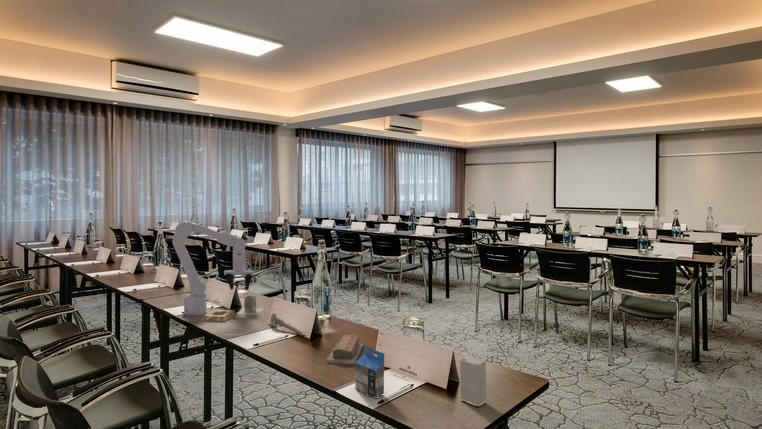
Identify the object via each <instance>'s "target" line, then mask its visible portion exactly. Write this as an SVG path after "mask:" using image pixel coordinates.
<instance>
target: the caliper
mask: <svg viewBox="0 0 762 429" xmlns="http://www.w3.org/2000/svg"><path fill="white" fill-rule="evenodd" d="M269 321H270V328H273V329H275V328H277V326H280V327H281V328H285V329H287V330H290V331H292V332H293V333H296V334H297V335H299V336H302V335H303V332H304V331H303V332H301V331H302V330H301V329H299V328H298V327H295V326H293V325H292V324H290V323H287V322H285V321H284V320H283V319H282V318H280V317H277V313H276V314H275V313H272V315H271V316H270V320H269ZM298 329H299V330H298ZM300 330H301V331H300Z"/></svg>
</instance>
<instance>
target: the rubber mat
mask: <svg viewBox="0 0 762 429" xmlns="http://www.w3.org/2000/svg"><path fill="white" fill-rule="evenodd" d="M264 310H265V308H261V307H260V308H257V307H256V311H254V312H253V313H250V312H245V307H243V309H241V310H240V311H238V312H235V315H250V316H256V315H259V314H260V313H261V312H263V311H264Z"/></svg>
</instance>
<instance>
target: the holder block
mask: <svg viewBox="0 0 762 429" xmlns="http://www.w3.org/2000/svg"><path fill="white" fill-rule="evenodd" d="M235 315H236V311H235V310H234V309H233V310H231V309H213V310H210V311H208V312H207V313H205V315H204V314H203V317H202V318H203V321H204V322H205V321H207V322H210V321H211V322H226V321H227V320H230V319H231V318H233V317H234V316H235Z"/></svg>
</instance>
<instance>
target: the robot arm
mask: <svg viewBox="0 0 762 429" xmlns="http://www.w3.org/2000/svg"><path fill="white" fill-rule="evenodd" d="M192 233H193V234H199V233H200V234H203V235H205V236H208V237H211V238H214V239H216V241H217V243H220V244H222V245H225V246H228V247H230V248H231V247H232V269H227V270H226V269H225V270H224V271H223V274H224V277H225V279H226V281H227V282H228V285H229V286H228V287H229V289H230V290H231V291H232V290H234V285H235V284H234V279H235V276H244V281H245V282H244V283H245V290H246V291H248V290H249V289H250V284H251V281H252V279H253V277H254V276H255V270H251V269H250V270H249V269H247V270H246V252H245V251H246V249H245V248H246V247H247V243H246V241H245V240H244V238H242V237H240V236H238V235H237V234H235V235H234V234H233V233H229V231H227V230H221V231H216V230H214V229H212V228H210V227H208V226H204V225H202V224H199V223H197V222H196V223H195V222H191V221H188V220H181V221H180V222H179V223H178V224H177V226H176V227H175V229H174V234H173V237H172V246H173V248H174V250H175V252H176V255H177V257H178V260H179V261H180V263H181V266H182V268H183V270H184V272H185V274H186V277H187V278H188V281H189V283H190V285H189V286H190V293H188V294H186V295H185V296H184V298H183V315H196V316H200V315H201V316H202V315H203V316H204V314H205V315H206V314H207V313H209V312H211V309H207V308H208V307H207V292H206V288H207V287H206V285H205V281H204V280H203V279H201V277H200V276H199V273H198V272H197V269H196V267H195V265H194V262H193V260H192V258H191V256H190V254H189V251H188V250H187V248H186V247H187V246H186V245H185V242H186V240H187V238H188V237H189V236H190V235H191V234H192Z"/></svg>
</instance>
